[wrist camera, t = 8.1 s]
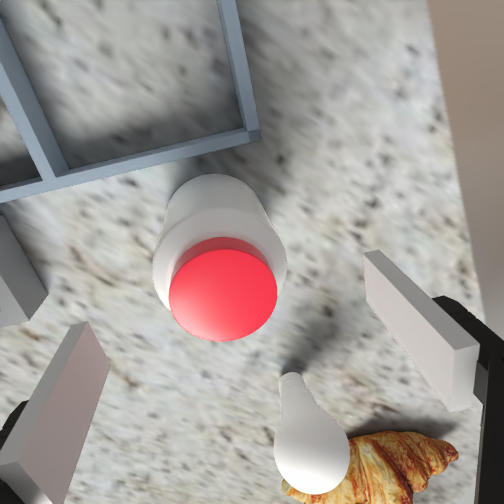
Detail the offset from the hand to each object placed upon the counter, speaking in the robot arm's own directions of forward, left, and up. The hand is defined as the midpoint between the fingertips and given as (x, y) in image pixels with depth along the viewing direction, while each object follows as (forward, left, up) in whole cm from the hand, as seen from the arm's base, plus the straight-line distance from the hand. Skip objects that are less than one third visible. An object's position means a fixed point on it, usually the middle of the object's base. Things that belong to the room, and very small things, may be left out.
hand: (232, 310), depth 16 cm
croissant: (+9, -34, -13) cm, 37 cm away
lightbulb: (+3, -18, -12) cm, 22 cm away
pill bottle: (0, 0, -12) cm, 12 cm away
